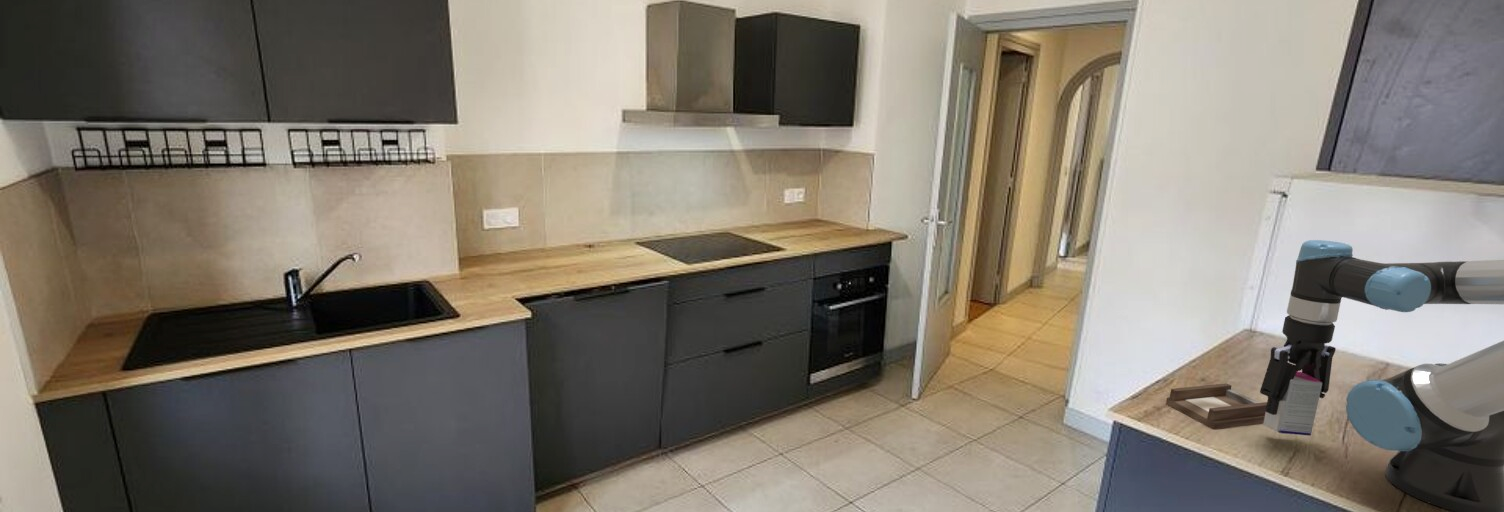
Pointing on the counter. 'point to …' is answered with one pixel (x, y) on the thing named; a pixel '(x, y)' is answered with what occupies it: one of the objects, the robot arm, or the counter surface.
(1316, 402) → the supplement box
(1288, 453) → the counter surface
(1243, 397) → the brown wooden tray
